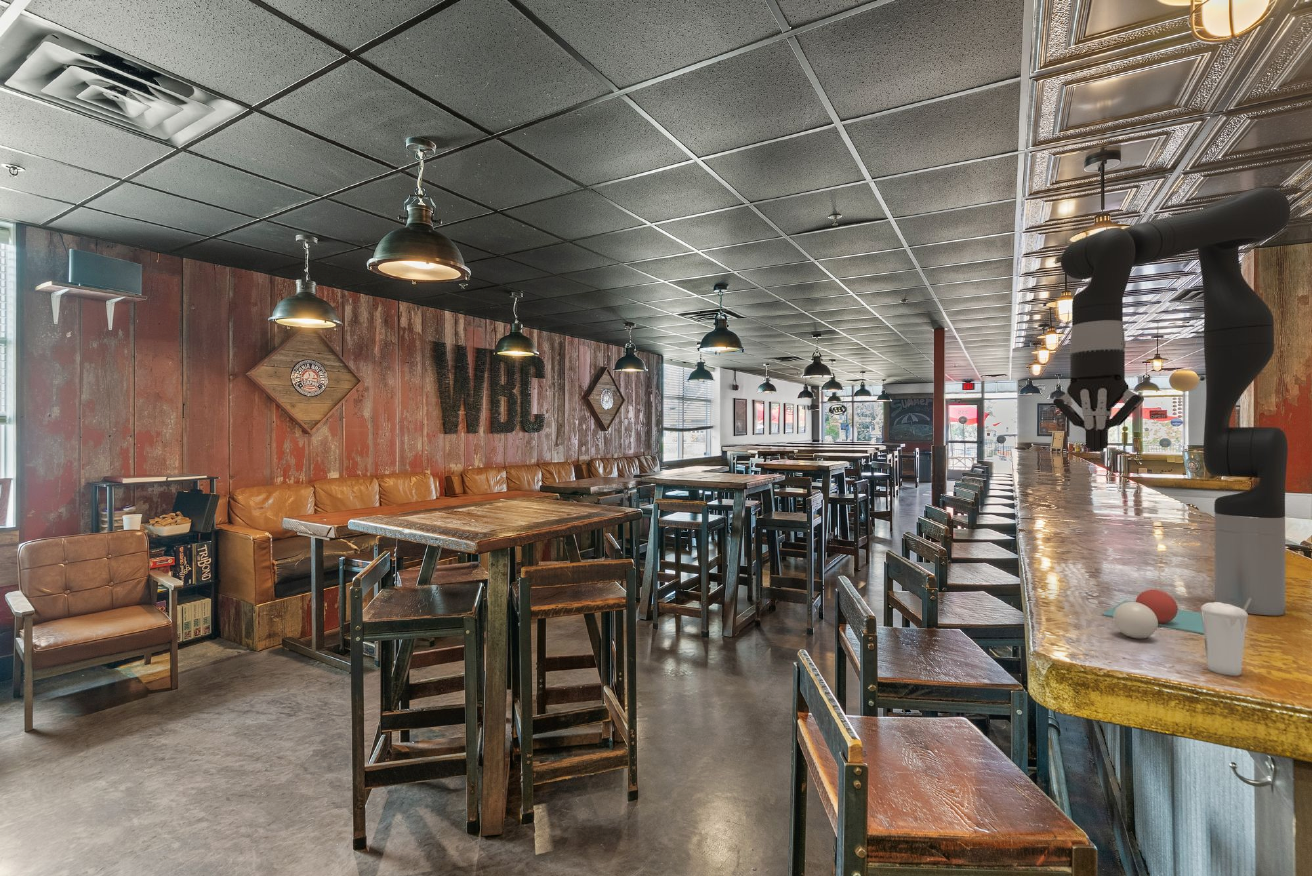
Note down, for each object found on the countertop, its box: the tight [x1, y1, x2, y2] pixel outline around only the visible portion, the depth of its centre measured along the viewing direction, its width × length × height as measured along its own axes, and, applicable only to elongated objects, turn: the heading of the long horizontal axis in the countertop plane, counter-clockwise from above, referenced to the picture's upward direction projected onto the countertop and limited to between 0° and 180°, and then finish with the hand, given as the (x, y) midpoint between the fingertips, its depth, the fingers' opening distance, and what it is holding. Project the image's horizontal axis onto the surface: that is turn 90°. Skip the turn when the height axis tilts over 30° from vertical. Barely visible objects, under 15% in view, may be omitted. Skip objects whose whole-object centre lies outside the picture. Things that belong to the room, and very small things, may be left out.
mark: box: [1102, 600, 1204, 635], centre depth 105 cm, size 14×14×1 cm
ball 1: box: [1112, 601, 1159, 639], centre depth 94 cm, size 6×6×6 cm
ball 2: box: [1135, 589, 1178, 623], centre depth 102 cm, size 6×6×6 cm
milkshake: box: [1200, 598, 1252, 677], centre depth 80 cm, size 5×5×10 cm
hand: (1096, 451), depth 103 cm, fingers closed
